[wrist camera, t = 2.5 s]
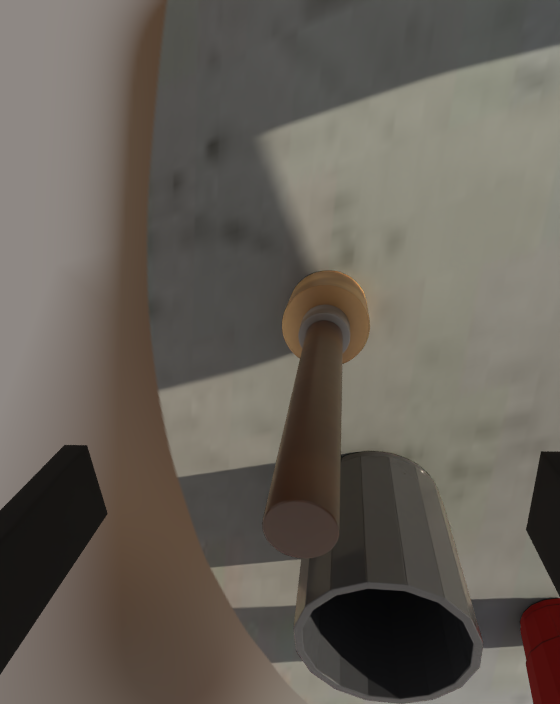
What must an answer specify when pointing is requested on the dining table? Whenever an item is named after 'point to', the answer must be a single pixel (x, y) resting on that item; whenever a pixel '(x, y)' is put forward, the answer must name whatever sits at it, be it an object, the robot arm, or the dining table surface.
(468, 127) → the dining table surface
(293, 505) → the brush
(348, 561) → the grey cylindrical container
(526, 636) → the plastic cup
